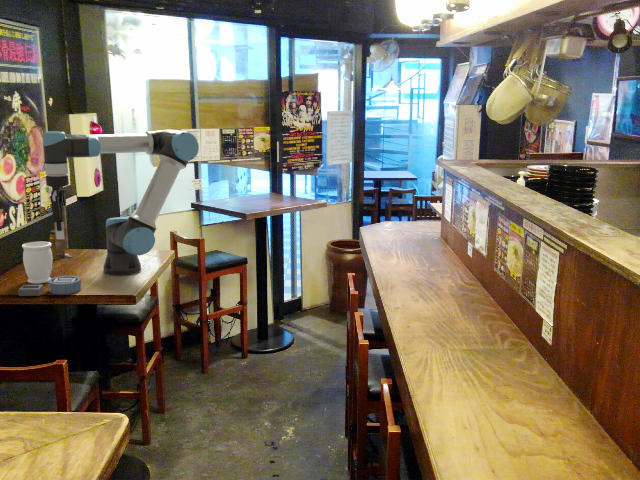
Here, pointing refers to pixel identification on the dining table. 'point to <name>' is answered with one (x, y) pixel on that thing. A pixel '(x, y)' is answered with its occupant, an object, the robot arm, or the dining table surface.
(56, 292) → the candle dish
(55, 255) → the condiment
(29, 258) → the jar
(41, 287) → the grey slotted block
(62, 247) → the brown long rectangular bar
